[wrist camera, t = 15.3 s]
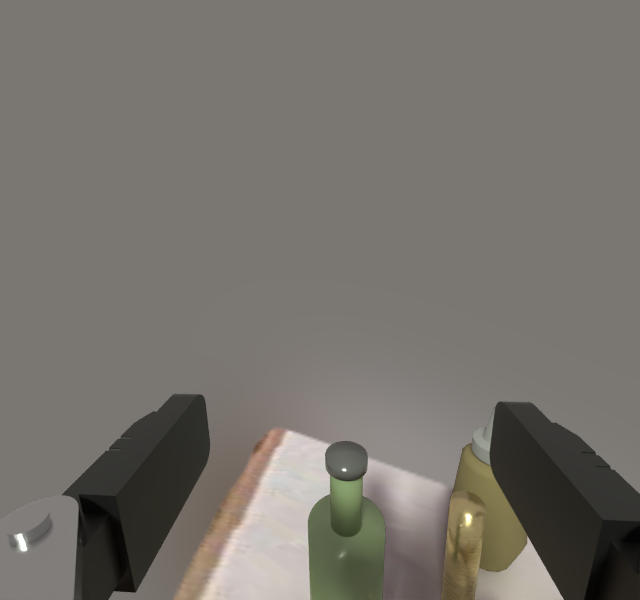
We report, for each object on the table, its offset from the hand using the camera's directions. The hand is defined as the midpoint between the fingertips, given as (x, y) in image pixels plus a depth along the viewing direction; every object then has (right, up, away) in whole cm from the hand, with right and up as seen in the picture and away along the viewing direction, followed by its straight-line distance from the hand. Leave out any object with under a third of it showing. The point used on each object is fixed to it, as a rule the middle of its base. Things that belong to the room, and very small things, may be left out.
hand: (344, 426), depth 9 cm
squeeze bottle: (+18, -25, +30) cm, 43 cm away
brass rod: (+13, -27, +24) cm, 38 cm away
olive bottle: (+1, -28, +18) cm, 33 cm away
